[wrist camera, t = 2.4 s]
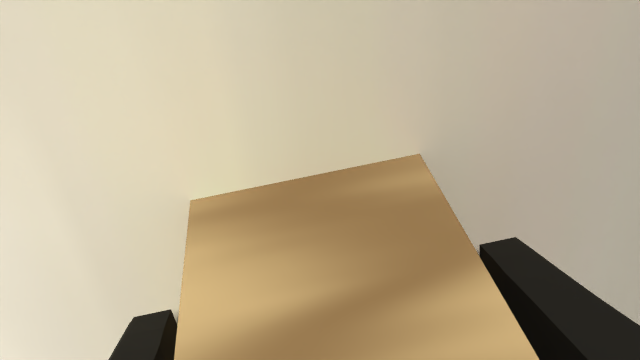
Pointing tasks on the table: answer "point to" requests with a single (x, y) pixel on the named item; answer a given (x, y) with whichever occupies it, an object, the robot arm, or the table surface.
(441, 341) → the oak block
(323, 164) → the table surface
